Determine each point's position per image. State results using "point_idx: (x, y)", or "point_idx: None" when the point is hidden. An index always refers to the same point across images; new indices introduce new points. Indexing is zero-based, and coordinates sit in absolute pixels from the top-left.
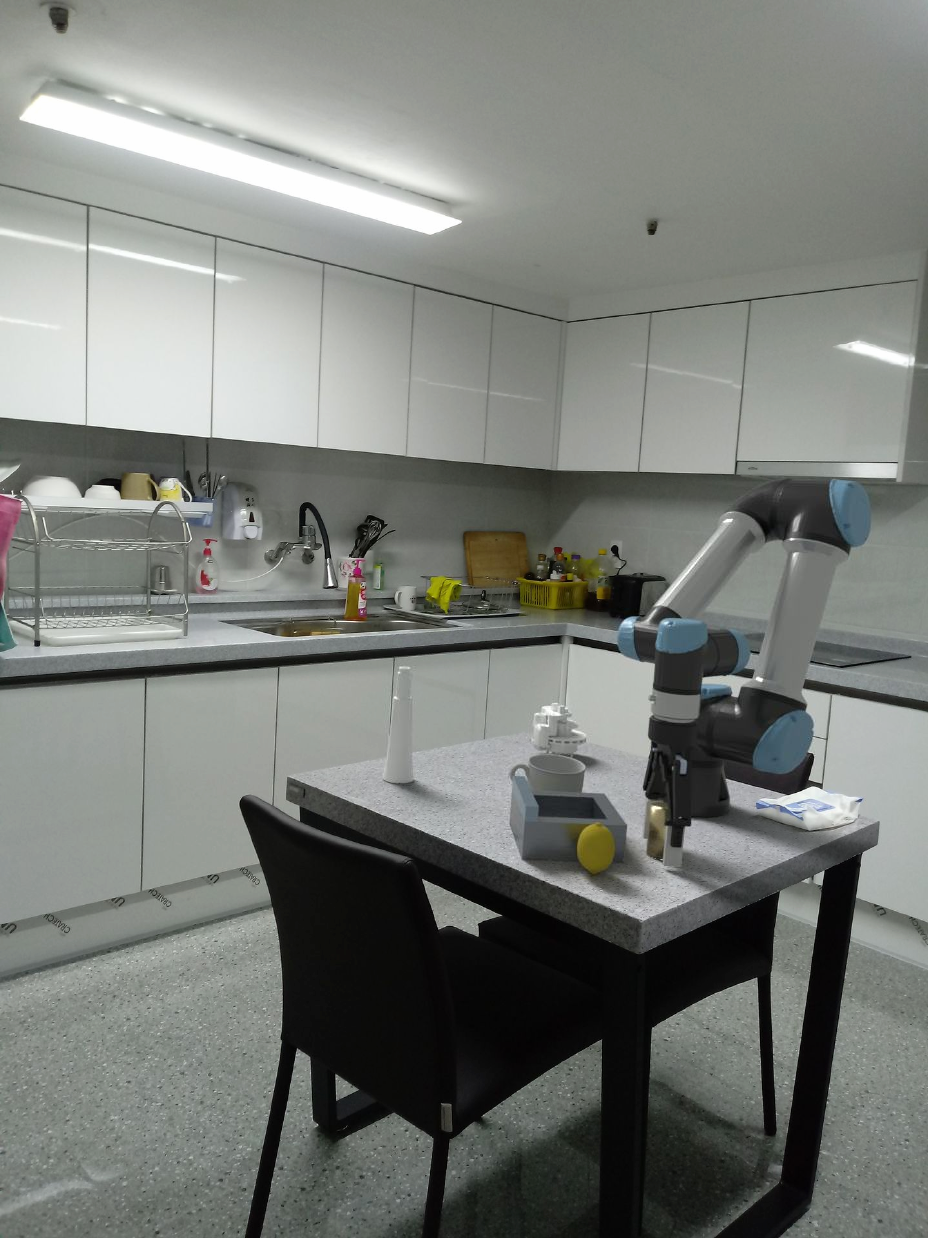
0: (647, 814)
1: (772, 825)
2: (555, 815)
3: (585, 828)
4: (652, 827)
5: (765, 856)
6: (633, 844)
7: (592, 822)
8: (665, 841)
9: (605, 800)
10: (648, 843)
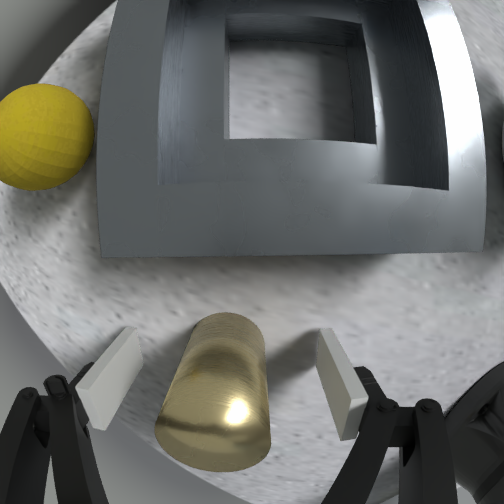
0: (336, 372)
1: (379, 497)
2: (384, 65)
3: (15, 92)
4: (193, 360)
5: (252, 488)
6: (301, 295)
7: (116, 115)
8: (104, 358)
9: (422, 235)
10: (215, 327)
